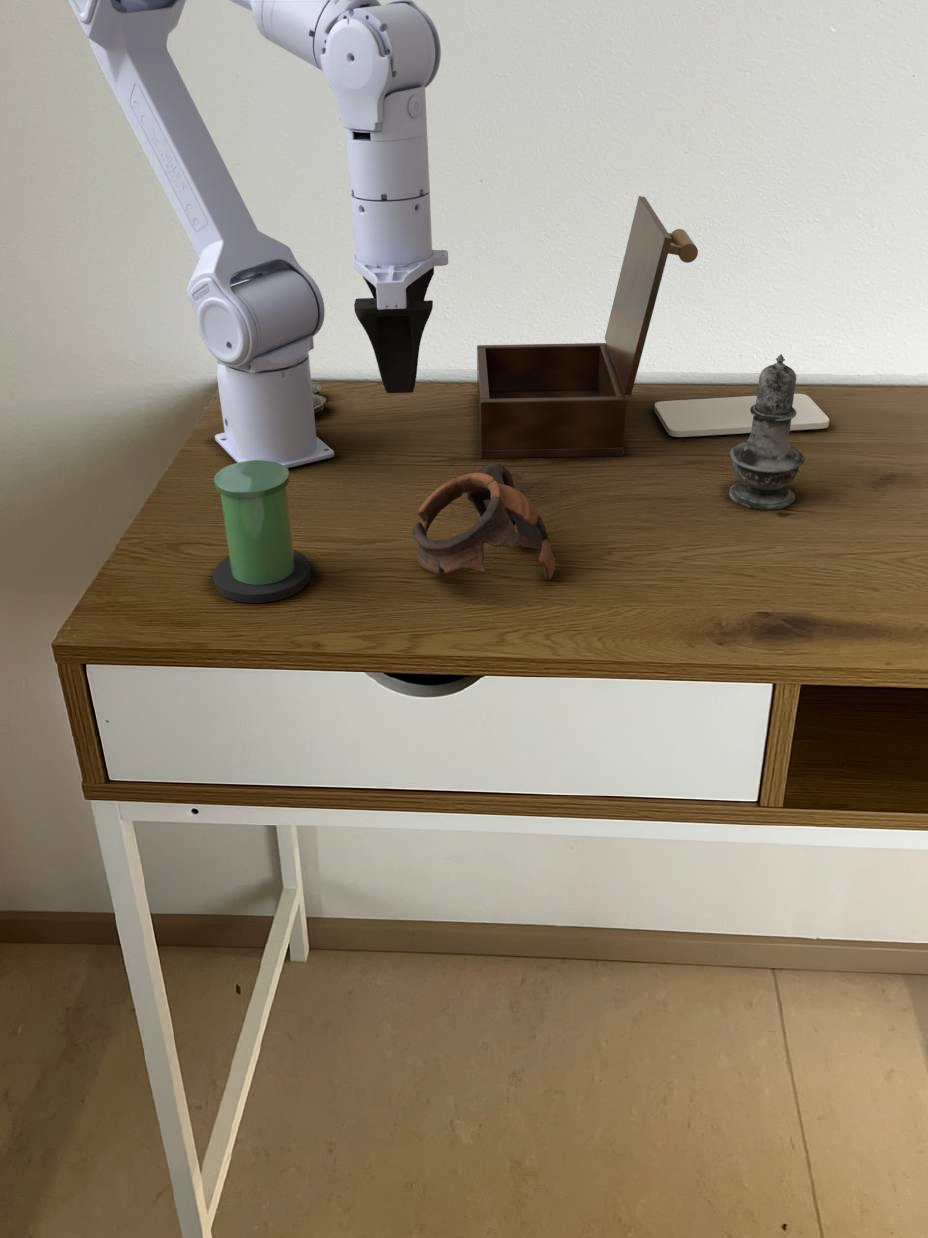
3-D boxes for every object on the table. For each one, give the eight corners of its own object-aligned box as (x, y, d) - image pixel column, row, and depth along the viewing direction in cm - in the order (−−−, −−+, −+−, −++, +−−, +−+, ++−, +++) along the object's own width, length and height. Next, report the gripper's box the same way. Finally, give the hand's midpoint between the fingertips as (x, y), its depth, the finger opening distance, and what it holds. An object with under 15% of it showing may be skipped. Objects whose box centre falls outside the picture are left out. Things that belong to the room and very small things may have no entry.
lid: (664, 237, 91) (715, 245, 91) (638, 195, 103) (683, 203, 104) (624, 394, 98) (671, 402, 98) (604, 338, 110) (646, 345, 111)
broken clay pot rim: (564, 606, 81) (511, 529, 76) (448, 644, 85) (390, 572, 79) (565, 494, 89) (517, 417, 84) (459, 532, 93) (407, 461, 87)
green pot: (217, 563, 84) (203, 470, 80) (283, 545, 86) (272, 454, 82) (242, 594, 80) (228, 498, 76) (310, 575, 83) (300, 481, 79)
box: (481, 458, 101) (480, 402, 98) (477, 396, 113) (476, 344, 110) (623, 456, 101) (627, 399, 98) (604, 394, 113) (607, 342, 110)
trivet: (204, 602, 81) (202, 593, 81) (227, 554, 87) (225, 545, 87) (301, 604, 81) (300, 595, 80) (318, 555, 87) (317, 546, 86)
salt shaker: (804, 486, 95) (827, 347, 89) (790, 517, 91) (812, 372, 84) (734, 475, 97) (751, 337, 91) (717, 503, 93) (733, 361, 86)
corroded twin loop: (320, 388, 115) (319, 378, 115) (330, 417, 109) (329, 407, 108) (270, 392, 115) (269, 382, 114) (277, 423, 108) (276, 412, 107)
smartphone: (652, 401, 109) (805, 392, 110) (651, 408, 110) (804, 399, 111) (670, 431, 103) (832, 422, 104) (670, 439, 104) (831, 429, 105)
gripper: (445, 213, 76) (452, 406, 84) (445, 171, 89) (452, 342, 96) (340, 217, 76) (356, 409, 84) (355, 174, 89) (368, 345, 96)
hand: (401, 373), depth 90 cm, fingers open, 7 cm apart
